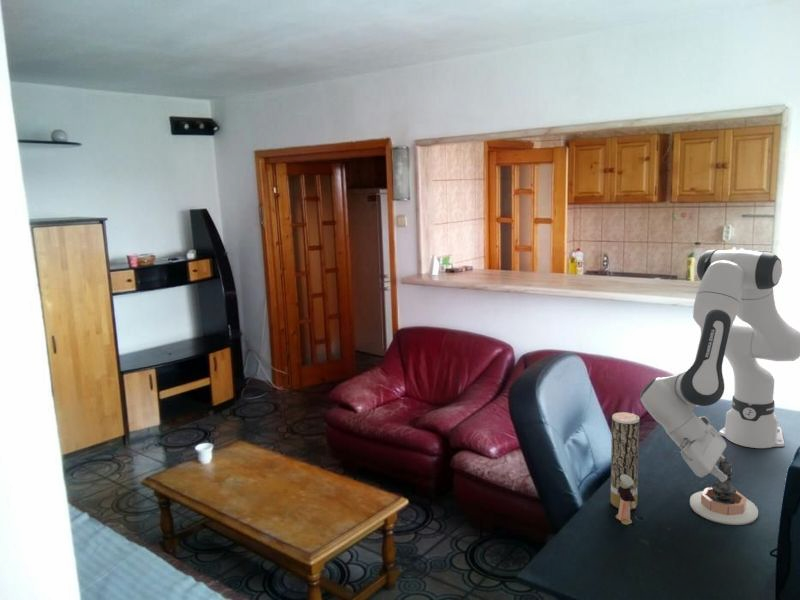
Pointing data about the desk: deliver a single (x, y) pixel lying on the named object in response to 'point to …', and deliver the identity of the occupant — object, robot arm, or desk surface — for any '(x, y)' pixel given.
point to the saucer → (724, 508)
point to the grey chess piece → (724, 485)
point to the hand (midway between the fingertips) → (727, 476)
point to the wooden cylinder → (624, 453)
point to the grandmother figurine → (625, 499)
